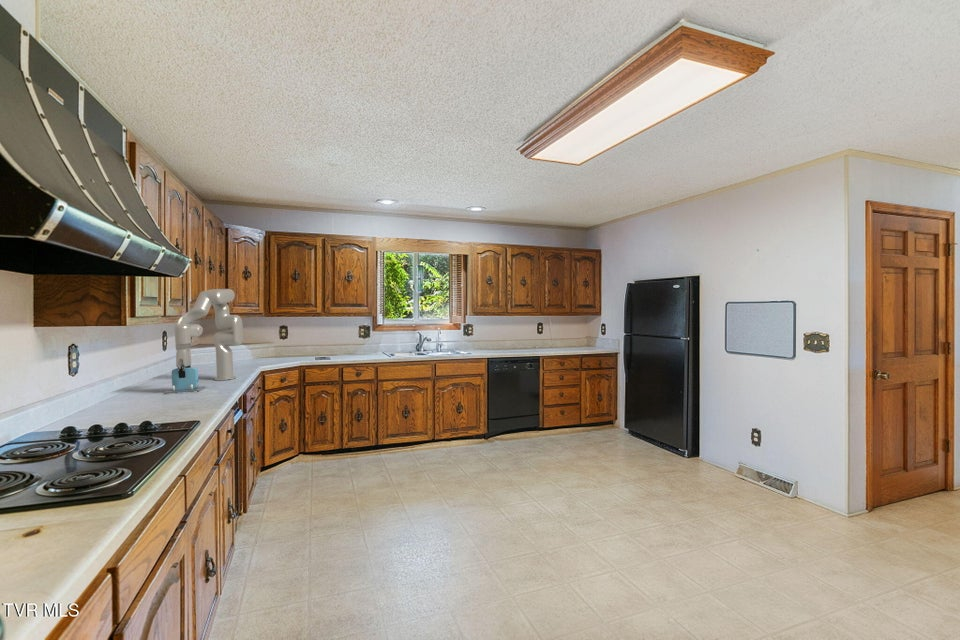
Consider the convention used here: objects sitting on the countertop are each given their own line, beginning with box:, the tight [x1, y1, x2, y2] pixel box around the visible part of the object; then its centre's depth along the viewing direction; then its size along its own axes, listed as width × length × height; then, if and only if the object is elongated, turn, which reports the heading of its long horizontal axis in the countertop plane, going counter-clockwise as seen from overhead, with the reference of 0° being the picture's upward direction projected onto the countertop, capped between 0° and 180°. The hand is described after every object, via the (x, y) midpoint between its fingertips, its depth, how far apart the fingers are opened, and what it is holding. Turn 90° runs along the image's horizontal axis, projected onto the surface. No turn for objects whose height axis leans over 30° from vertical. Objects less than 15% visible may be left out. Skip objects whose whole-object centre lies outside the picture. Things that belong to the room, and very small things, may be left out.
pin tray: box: [163, 384, 207, 394], centre depth 261 cm, size 14×17×4 cm
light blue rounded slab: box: [171, 366, 199, 390], centre depth 261 cm, size 12×4×12 cm, turn 108°
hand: (185, 376), depth 261 cm, fingers open, 9 cm apart
